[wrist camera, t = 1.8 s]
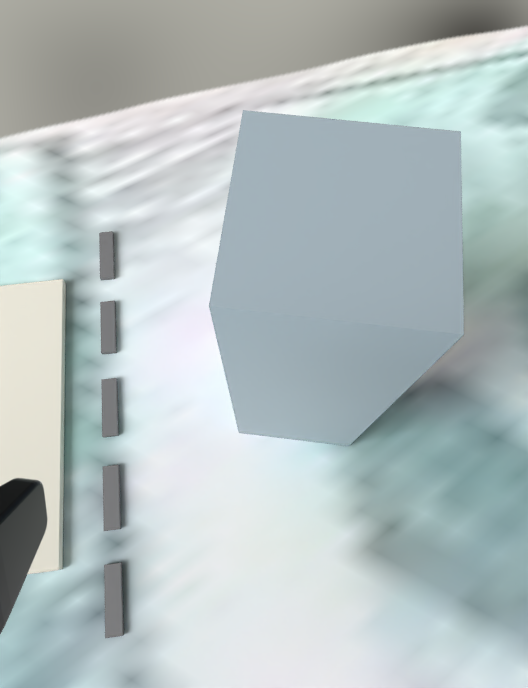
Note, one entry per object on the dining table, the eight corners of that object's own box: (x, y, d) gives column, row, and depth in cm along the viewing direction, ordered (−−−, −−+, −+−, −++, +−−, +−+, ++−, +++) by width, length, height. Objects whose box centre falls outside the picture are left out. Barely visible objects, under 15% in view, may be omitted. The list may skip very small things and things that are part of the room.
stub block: (348, 446, 21) (463, 334, 9) (238, 432, 21) (208, 305, 9) (355, 343, 22) (460, 131, 10) (252, 331, 22) (242, 110, 11)
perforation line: (100, 235, 24) (99, 232, 24) (113, 233, 24) (112, 231, 24) (107, 637, 18) (105, 637, 18) (123, 634, 18) (122, 635, 18)
